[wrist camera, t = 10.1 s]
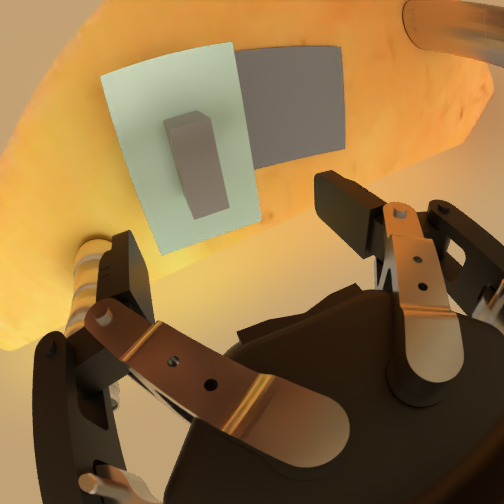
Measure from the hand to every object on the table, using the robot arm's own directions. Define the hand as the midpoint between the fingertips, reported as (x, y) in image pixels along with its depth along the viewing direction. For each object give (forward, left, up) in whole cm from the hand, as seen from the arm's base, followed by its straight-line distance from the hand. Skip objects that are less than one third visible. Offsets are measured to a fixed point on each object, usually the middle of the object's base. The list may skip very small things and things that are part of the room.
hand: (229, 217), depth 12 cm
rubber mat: (-14, 0, -21) cm, 25 cm away
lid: (0, 0, -11) cm, 11 cm away
